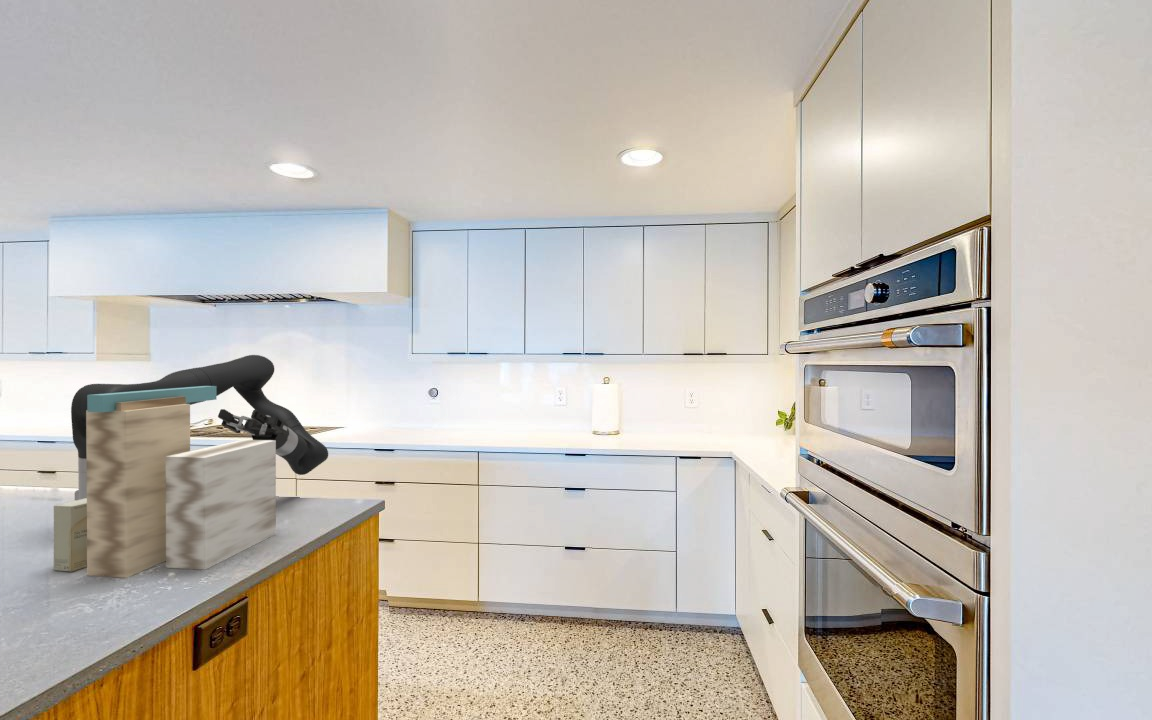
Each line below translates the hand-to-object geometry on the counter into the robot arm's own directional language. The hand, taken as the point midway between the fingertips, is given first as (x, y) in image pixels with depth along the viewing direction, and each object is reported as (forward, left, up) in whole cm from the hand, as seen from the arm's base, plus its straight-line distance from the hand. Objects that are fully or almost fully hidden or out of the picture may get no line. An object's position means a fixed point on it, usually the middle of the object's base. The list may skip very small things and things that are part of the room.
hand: (237, 413), depth 129 cm
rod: (0, -21, +4) cm, 21 cm away
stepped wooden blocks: (+5, -19, -26) cm, 33 cm away
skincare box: (-10, -28, -26) cm, 40 cm away
